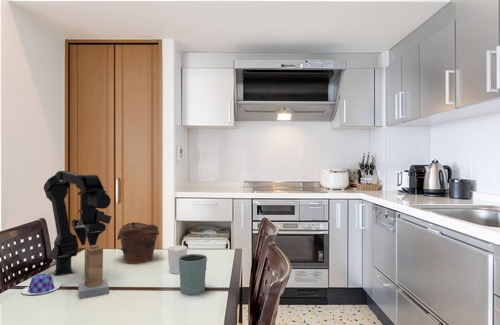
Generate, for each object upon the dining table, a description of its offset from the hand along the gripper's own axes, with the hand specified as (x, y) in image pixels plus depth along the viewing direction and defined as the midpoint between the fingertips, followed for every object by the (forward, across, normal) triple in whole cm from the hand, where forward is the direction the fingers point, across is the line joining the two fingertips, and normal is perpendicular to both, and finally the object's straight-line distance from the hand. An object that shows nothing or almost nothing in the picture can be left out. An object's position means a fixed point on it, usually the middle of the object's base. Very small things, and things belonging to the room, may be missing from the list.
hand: (87, 247), depth 127 cm
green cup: (+13, -38, -22) cm, 46 cm away
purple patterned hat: (+14, +2, +15) cm, 20 cm away
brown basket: (+13, +12, -28) cm, 33 cm away
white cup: (+13, -16, -31) cm, 37 cm away
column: (+10, -14, +3) cm, 18 cm away
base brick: (+13, -14, +3) cm, 19 cm away
